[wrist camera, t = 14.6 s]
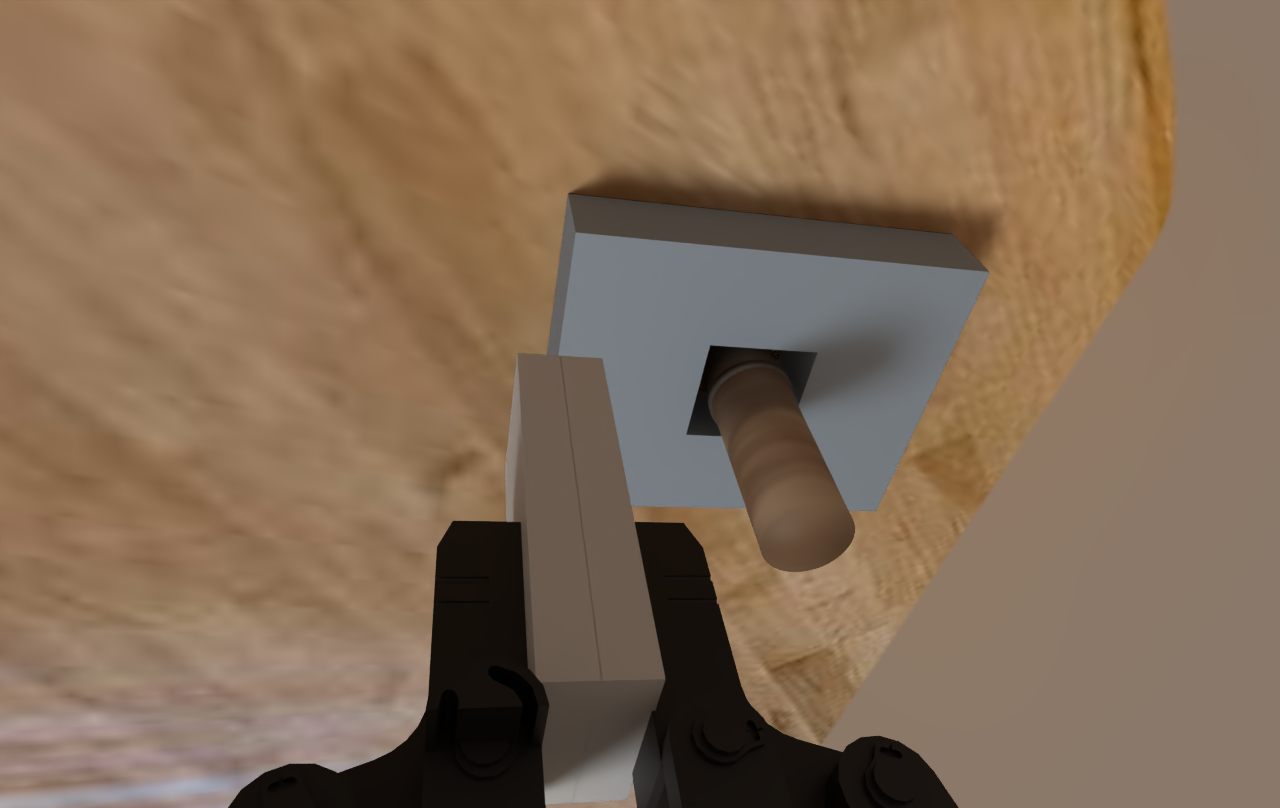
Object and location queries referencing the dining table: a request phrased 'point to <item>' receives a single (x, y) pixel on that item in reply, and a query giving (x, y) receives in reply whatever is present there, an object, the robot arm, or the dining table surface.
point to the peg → (775, 460)
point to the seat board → (757, 333)
